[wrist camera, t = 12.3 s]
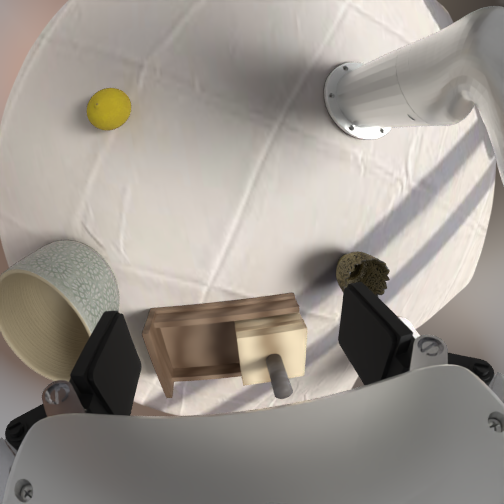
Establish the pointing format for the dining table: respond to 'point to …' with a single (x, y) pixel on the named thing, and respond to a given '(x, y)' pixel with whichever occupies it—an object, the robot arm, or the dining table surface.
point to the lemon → (108, 109)
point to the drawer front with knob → (272, 350)
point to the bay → (204, 337)
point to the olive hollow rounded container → (362, 271)
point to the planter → (55, 305)
